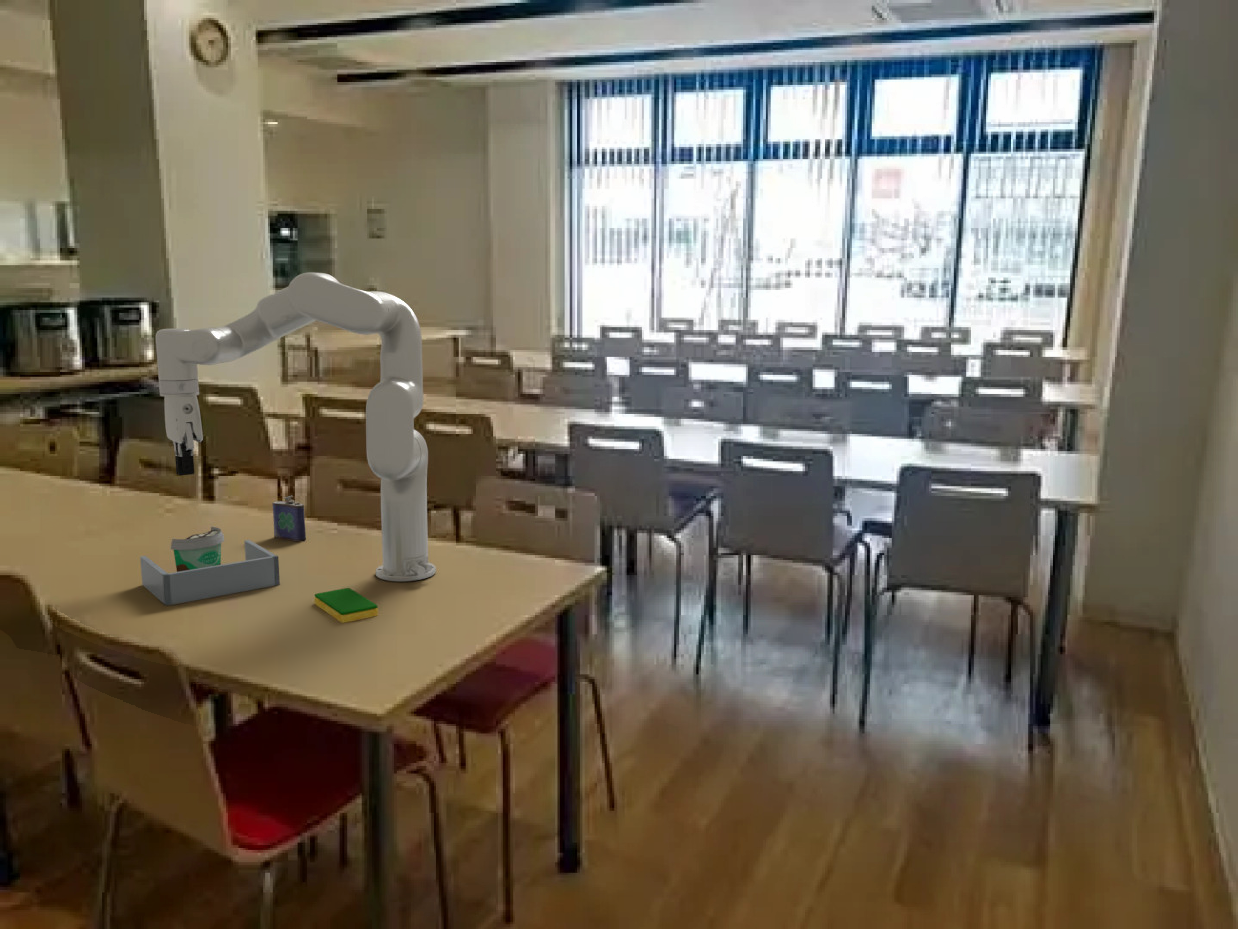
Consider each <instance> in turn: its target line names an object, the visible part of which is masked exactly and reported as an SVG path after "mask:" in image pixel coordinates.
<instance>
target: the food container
mask: <svg viewBox="0 0 1238 929" xmlns="http://www.w3.org/2000/svg"><path fill="white" fill-rule="evenodd" d="M224 541H225V536H224V533H223V532H222V529H221V528H219V527H216V526H211V527H210V530H209V531H206V532H203V533H197V534H192V535H190V536H188V537H186V538H183V539H181V538H180V539H179V538H178V539H177V538H176V539H175V538H171V544H170V550H173V556H174V561H175V567H176V568H175V569H176V572H180V571H186V570H192V569H198V568H204V567H210V566H216V565H222V563H221V562H222V543H223V542H224Z"/></svg>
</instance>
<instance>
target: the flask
mask: <svg viewBox="0 0 1238 929" xmlns="http://www.w3.org/2000/svg"><path fill="white" fill-rule="evenodd" d="M292 498H293V495H288V496H284V498H283V499H285V501H281V500H279V501H274V502H272V513H273V514H272V517H273V537H274V538H275V539H277V540H279V539H280V540H283V541H284V540H285V541H294V542H297V541H298V542H299V543H300V542H301V541H303V542H306V541H307V537H306V535H307V533H306V524H305V520H306V519H305V506H304V504H303V503H300V502H299V501H296V502H295V500H294V499H292ZM305 540H306V541H305Z"/></svg>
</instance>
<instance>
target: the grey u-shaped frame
mask: <svg viewBox="0 0 1238 929" xmlns="http://www.w3.org/2000/svg"><path fill="white" fill-rule="evenodd" d="M243 542H244V553H245V554H244V556H245V557H244V558H245V560H241V561H235V562H230V563H221V565H216V566H210V567H204V568H198V569H192V570H186V571H180V572H177V571H175V572H169V573H168V572H167V571H165V570H164V569H163V568H162V567H160V566H159V565H158V564H157V563H156V562H154V561H153V560H151V559H150V558H149V557H147V556H146V555H142V556H139V558H140V559H139V560H140V569H141V570H140V571H141V573H140V574H141V582H142V583H141V584H142V586H143V587H144V588H146V589H147V590H148V592H150V593H151V594H152V595H154V597H155V598H157V599H158V600H159V601H160V602H161V603H162V604H164V605H165V606H166V607H167V606H172V605H178V604H183V603H189V602H194V601H199V600H200V601H201V600H204V599H211V598H214V597H220V596H227V595H232V594H237V593H241V592H247V591H253V590H258V589H263V588H269V587H274V586H279V585H280V584H281V582H280V566H279V565H280V564H279V563H280V561H279V555H277V554H275V553H273V552H271V551H269V550H268V549H266V548H264V547H262V546H260V545H259V544H257V543H255V542H254V541H252V540H251V539H247V540H246V539H245V540H244V541H243Z"/></svg>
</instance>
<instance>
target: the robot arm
mask: <svg viewBox="0 0 1238 929" xmlns="http://www.w3.org/2000/svg"><path fill="white" fill-rule="evenodd" d="M316 321H318V322H321V323H324V324H327V325H329V326H332V327H335V328H338V329H341V330H344V331H347V332H351V333H353V334H359V335H364V336H368V335H374V334H378V335H379V337H380V340H381V345H380V355H379V361H380V381H379V382H377V383H376V384H375V385H374V386H373V387H372V388H371V390H370V391H369V394H368V396H367V399H366V405H365V406H366V407H365V436H366V437H365V439H366V440H365V441H366V448H365V449H366V460H367V463H368V466H369V468H370V470H371V472H373V474H374V475H375V476H377V477H378V478H380V517H381V518H380V520H381V544H382V545H381V546H382V551H381V552H382V564H381V565H378V567H377V568H376V569H375V575H376V577H377V578H378V579H381V580H384V581H387V582H412V581H413V582H414V581H420V580H424V579H428V578H430V577H432V576H433V575H435V574H436V571H437V568H436V566H435V565H434V563H431V562H429V546H428V545H429V542H428V540H429V539H428V534H429V533H428V505H427V504H428V496H427V494H428V488H427V486H428V485H427V484H428V483H427V482H428V481H427V478H428V464H429V450H428V446H427V445H428V444H427V442H426V440H425V438H424V436H423V435H422V434H421V433H420V432H419V431H418V430H416V429H415V427H414V426H415V424H414V423H415V422H414V420H415V418H416V417H418V415H419V414H420V413H421V411H422V409H423V406H424V384H423V383H424V382H423V381H424V375H423V373H424V372H423V370H424V369H423V368H424V367H423V366H424V365H423V343H422V342H423V341H422V340H423V338H422V330H421V326H420V323H419V319H418V318H417V316H416V314H415V312H414V311H413V309H412V308H411V307H410V306H409V305H408V304H407V303H406V302H404V301H403V300H402V299H401V298H399V297H397V296H395V295H393V294H390V293H387V292H384V291H379V290H377V291H375V290H373V291H372V290H371V291H367V290H366V291H365V290H361V289H358V288H355V287H352V286H349V285H345V284H343V283H340V282H339V281H338V279H337V278H335V277H334V276H332V275H330V274H328V273H324V272H313V271H312V272H308V271H307V272H303V273H300V274H298V275H297V276H294V278H293V279H292V280H290V282H289V285H288V286H286V287H284V288H282V289H280V290H277V291H276V292H273V293H271V294H269V295H267V296H264V297H262V298H261V299H260V300H258V302H257V305H256V307H255V309H253V311H251V312H250V313H248V314H246V315H245V316H242V317H240V318H238V319H237V320H234V321H232V322H230V323H227V324H225V325H223V326H216V327H206V328H199V329H188V328H162V329H159V330H157V331H156V333H155V347H156V360H157V373H158V387H159V396H160V397H163V398H164V400H163V401H164V403H163V405H164V423H165V433H166V437H167V439H169V440H170V441H172V444H173V449H174V455H175V456H174V458H175V470H176V471H175V472H176V475H178V476H180V477H181V476H190V475H191V476H192V475H194V474H195V463H194V462H195V459H194V449H195V443H194V441H195V442H197V443H201V442H202V441H203V439H204V435H203V426H202V419H201V411H200V405H199V404H200V403H199V401H198V397H197V396H199V395H200V388H199V372H198V365H202V366H212V365H219V364H224V363H230V362H233V361H236V360H239V359H241V358H243V357H245V356H247V355H250V354H252V353H254V352H257V351H258V350H260V349H262V348H264V347H266V346H267V345H269V344H271V343H273V342H275V341H278V340H279V339H281V338H282V337H284V336H287V335H289V334H291V333H293V332H295V331H297V330H299V329H301V328H303V327H305V326H307V325H310V324H312V323H314V322H316Z"/></svg>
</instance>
